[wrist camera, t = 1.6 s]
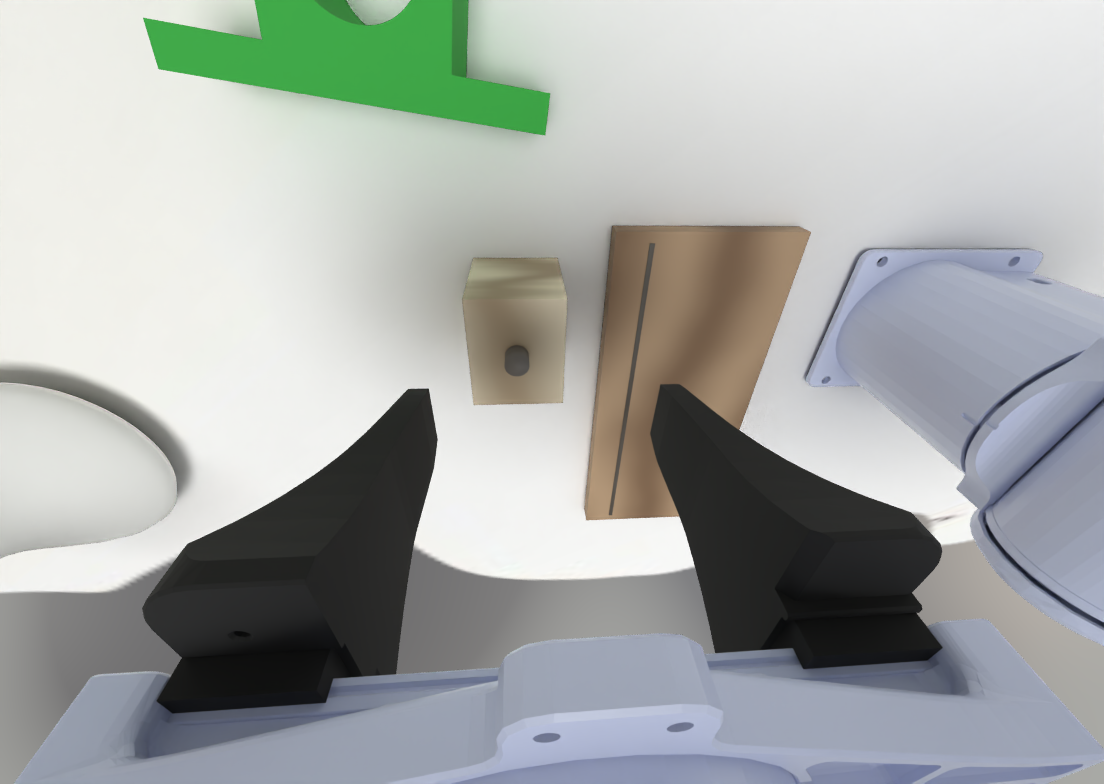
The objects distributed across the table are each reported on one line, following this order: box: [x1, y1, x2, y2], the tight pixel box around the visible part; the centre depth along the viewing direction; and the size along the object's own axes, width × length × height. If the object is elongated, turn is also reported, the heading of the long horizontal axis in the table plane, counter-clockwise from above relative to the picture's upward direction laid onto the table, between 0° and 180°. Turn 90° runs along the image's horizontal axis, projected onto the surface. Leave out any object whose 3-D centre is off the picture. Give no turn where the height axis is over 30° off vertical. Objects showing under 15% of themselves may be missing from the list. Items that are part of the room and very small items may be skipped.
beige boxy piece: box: [462, 258, 567, 405], centre depth 19 cm, size 4×5×6 cm
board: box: [584, 226, 811, 520], centre depth 25 cm, size 9×20×1 cm, turn 179°
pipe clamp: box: [143, 0, 550, 135], centre depth 14 cm, size 11×4×5 cm, turn 81°
